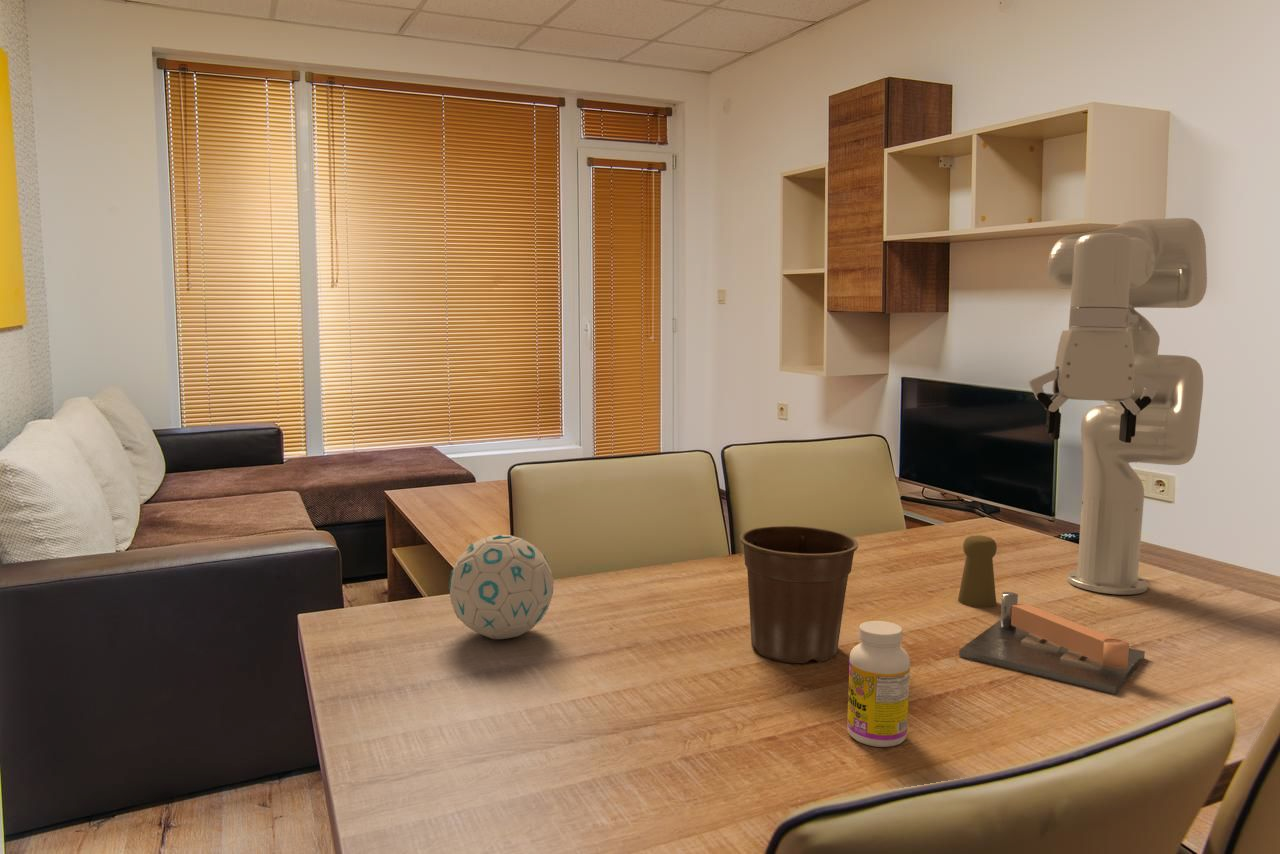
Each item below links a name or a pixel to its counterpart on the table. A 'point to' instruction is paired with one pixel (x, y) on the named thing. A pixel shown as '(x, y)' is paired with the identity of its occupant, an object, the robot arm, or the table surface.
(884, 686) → the supplement bottle
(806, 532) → the plant pot
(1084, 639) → the swing bar
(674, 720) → the table surface
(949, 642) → the table surface
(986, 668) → the table surface
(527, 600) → the puzzle ball
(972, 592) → the cork
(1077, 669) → the panel
